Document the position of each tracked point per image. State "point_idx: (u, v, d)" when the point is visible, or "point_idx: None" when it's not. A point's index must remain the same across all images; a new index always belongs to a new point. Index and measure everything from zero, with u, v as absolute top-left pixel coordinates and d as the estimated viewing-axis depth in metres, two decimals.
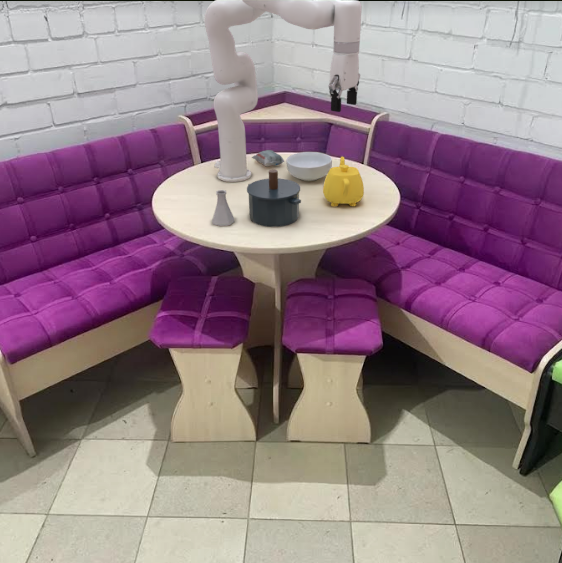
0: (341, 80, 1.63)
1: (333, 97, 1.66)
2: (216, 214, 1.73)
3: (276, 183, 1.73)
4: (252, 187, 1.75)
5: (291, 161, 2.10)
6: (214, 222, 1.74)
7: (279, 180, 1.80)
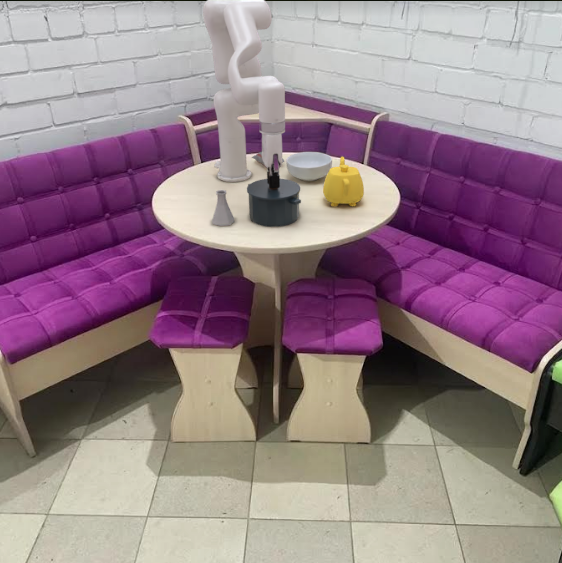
0: (280, 158, 1.65)
1: (274, 176, 1.69)
2: (216, 214, 1.73)
3: None
4: (252, 187, 1.75)
5: (291, 161, 2.10)
6: (214, 222, 1.74)
7: None
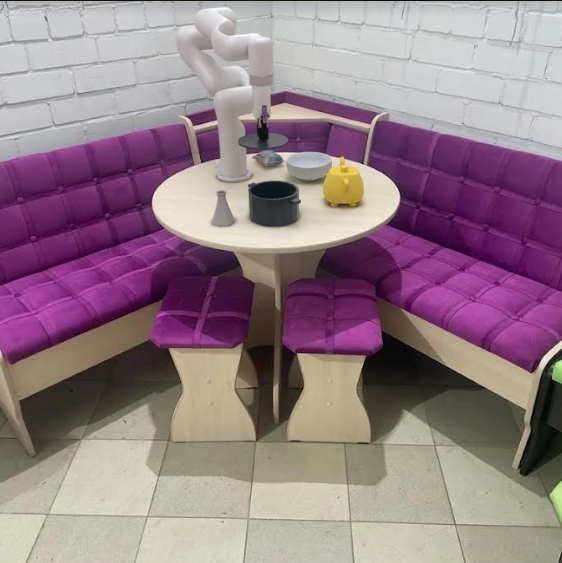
0: (269, 109, 1.77)
1: (263, 127, 1.81)
2: (216, 214, 1.73)
3: None
4: (243, 139, 1.87)
5: (291, 161, 2.10)
6: (214, 222, 1.74)
7: None
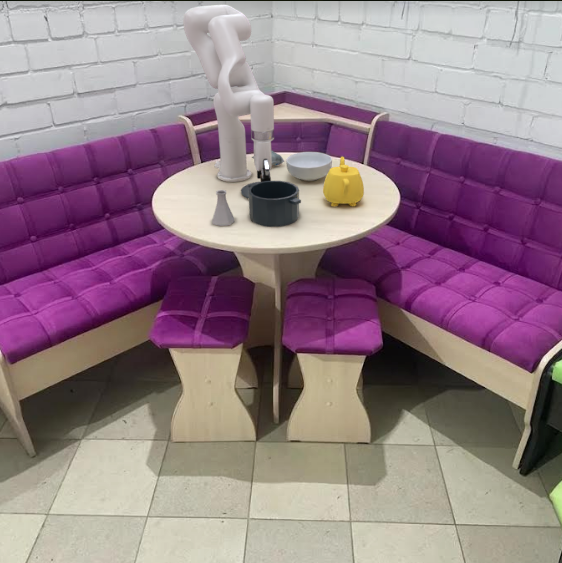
0: (270, 162, 1.86)
1: (265, 178, 1.87)
2: (216, 214, 1.73)
3: None
4: (246, 189, 1.96)
5: (291, 161, 2.10)
6: (214, 222, 1.74)
7: None
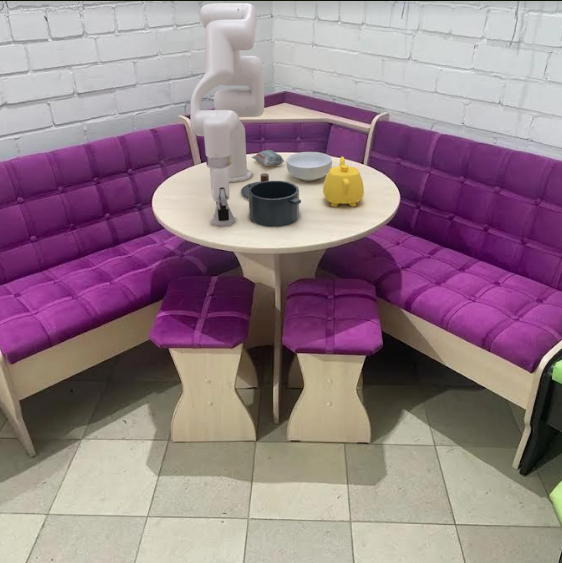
0: (227, 191, 1.67)
1: (222, 209, 1.70)
2: (216, 214, 1.73)
3: None
4: (246, 189, 1.96)
5: (291, 161, 2.10)
6: (214, 222, 1.74)
7: None
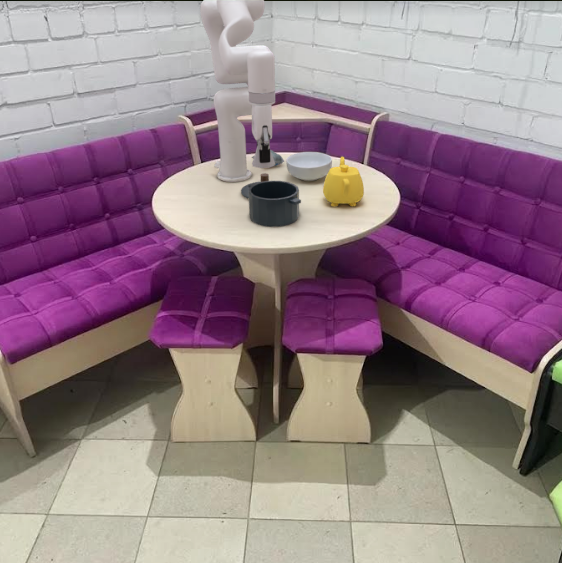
0: (270, 130, 1.60)
1: (264, 149, 1.64)
2: (257, 156, 1.67)
3: None
4: (246, 189, 1.96)
5: (291, 161, 2.10)
6: (255, 164, 1.68)
7: None
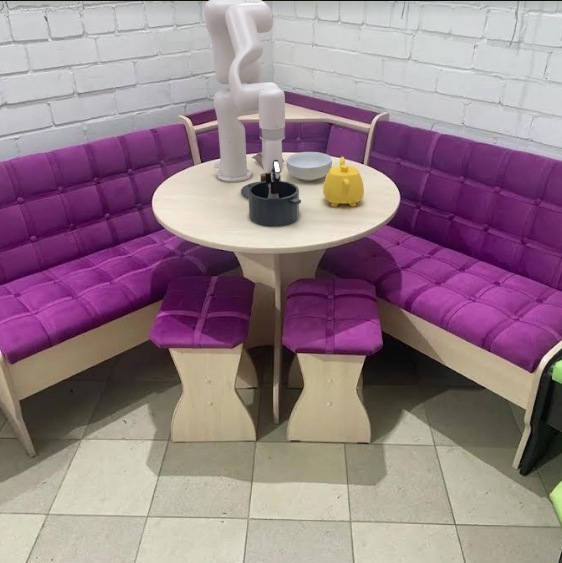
0: (280, 164, 1.66)
1: (275, 181, 1.67)
2: None
3: None
4: (246, 189, 1.96)
5: (291, 161, 2.10)
6: None
7: None
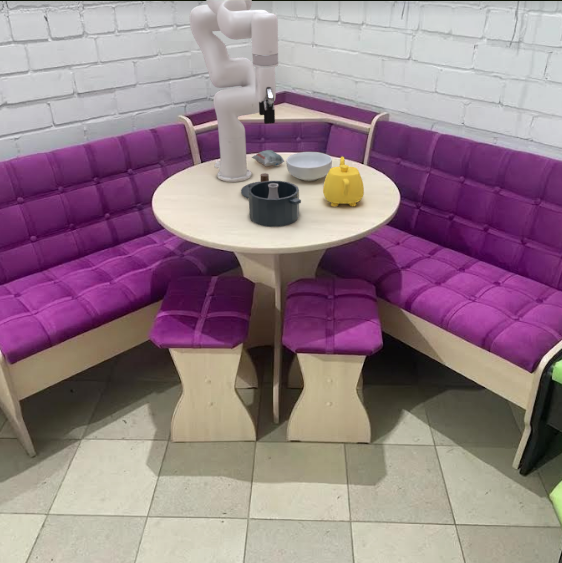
0: (274, 91, 1.65)
1: (268, 109, 1.66)
2: None
3: None
4: (246, 189, 1.96)
5: (291, 161, 2.10)
6: None
7: None
